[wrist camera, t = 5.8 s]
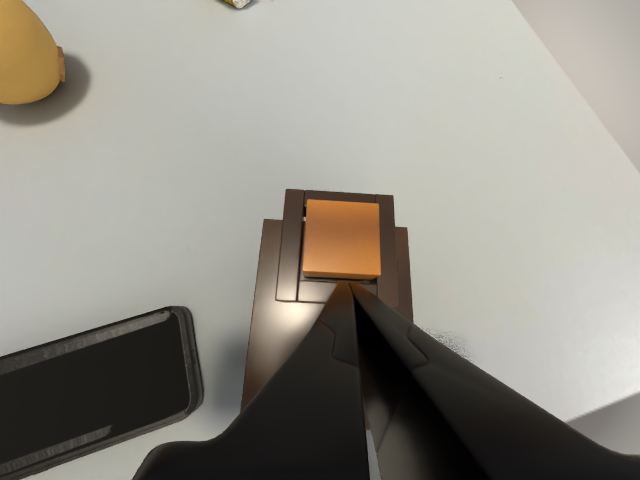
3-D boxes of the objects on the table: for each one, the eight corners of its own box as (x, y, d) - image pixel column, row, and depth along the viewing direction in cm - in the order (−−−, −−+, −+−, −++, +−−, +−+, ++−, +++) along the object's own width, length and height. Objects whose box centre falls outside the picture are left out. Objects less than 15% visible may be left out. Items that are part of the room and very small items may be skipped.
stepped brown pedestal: (389, 398, 18) (438, 450, 11) (258, 393, 18) (226, 444, 11) (384, 231, 22) (417, 196, 15) (275, 225, 21) (261, 186, 15)
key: (370, 280, 14) (381, 275, 12) (303, 276, 14) (302, 271, 12) (369, 217, 15) (379, 203, 13) (307, 213, 15) (307, 198, 13)
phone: (-43, 369, 16) (181, 301, 18) (-21, 365, 17) (188, 302, 19) (-56, 509, 14) (198, 416, 16) (-30, 495, 15) (205, 409, 17)
